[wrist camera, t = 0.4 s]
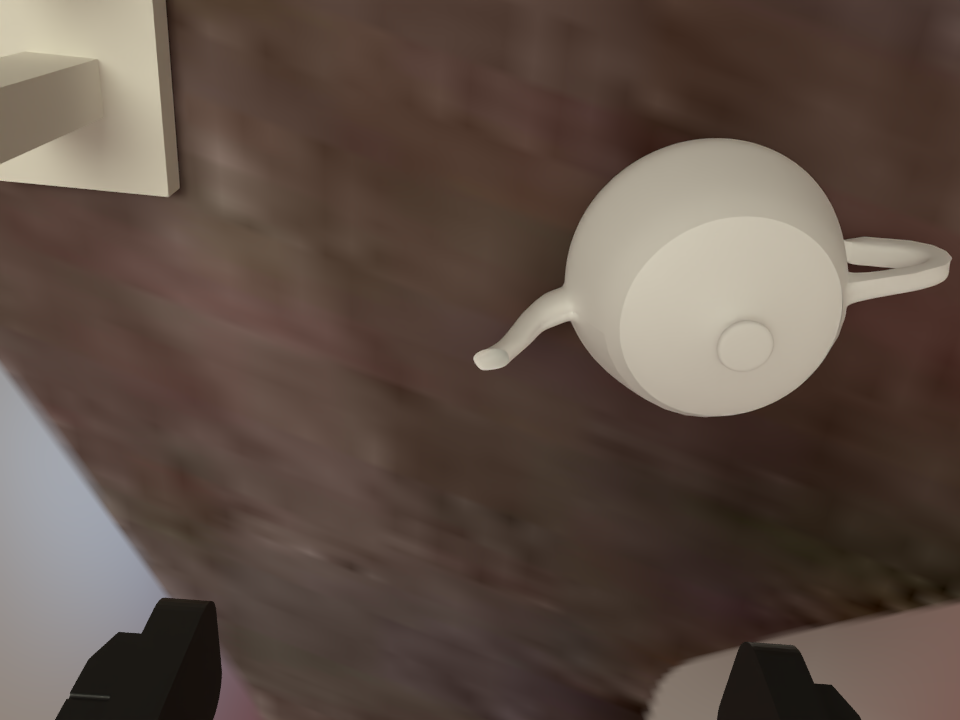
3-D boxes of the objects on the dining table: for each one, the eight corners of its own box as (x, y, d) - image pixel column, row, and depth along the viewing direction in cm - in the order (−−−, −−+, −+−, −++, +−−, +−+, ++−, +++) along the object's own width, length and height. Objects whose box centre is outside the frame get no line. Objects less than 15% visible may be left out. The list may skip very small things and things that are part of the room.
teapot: (497, 396, 43) (499, 516, 34) (451, 169, 37) (439, 240, 28) (881, 336, 41) (992, 446, 32) (894, 87, 35) (1033, 136, 26)
